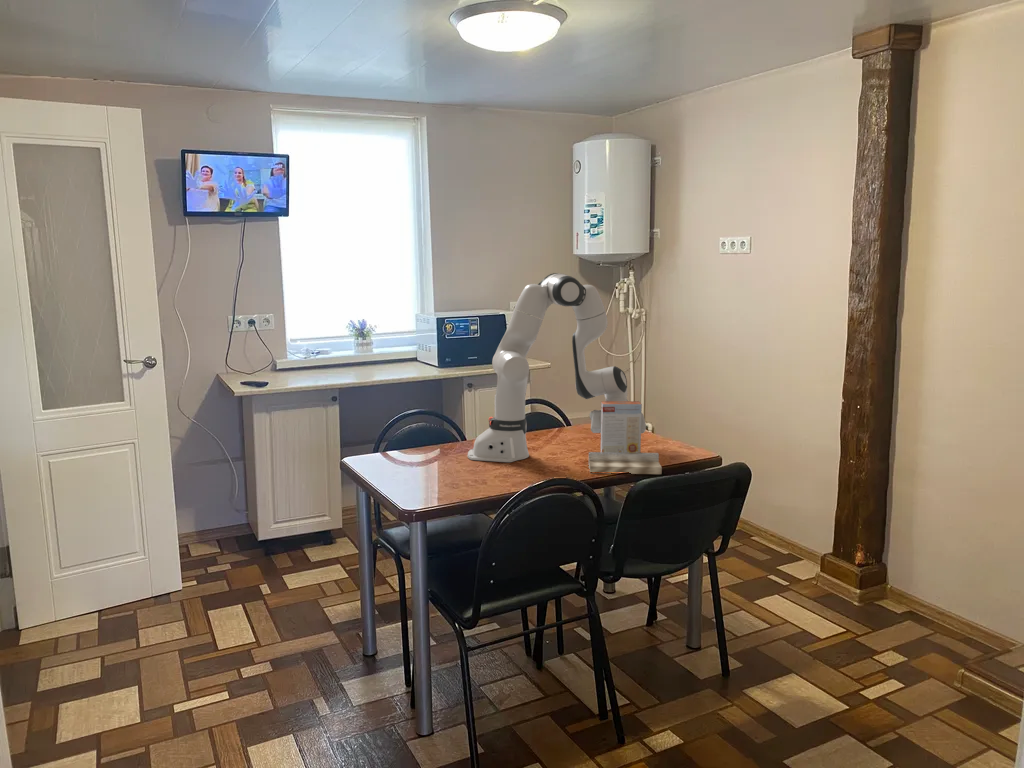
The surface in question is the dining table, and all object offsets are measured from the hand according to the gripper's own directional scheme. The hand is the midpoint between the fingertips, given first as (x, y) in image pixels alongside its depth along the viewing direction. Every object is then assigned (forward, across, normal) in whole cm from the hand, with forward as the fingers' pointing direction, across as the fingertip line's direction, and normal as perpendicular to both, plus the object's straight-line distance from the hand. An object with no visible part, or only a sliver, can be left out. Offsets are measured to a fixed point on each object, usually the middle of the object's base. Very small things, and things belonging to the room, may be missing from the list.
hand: (619, 442), depth 284 cm
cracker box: (+6, 0, +1) cm, 7 cm away
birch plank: (+17, 0, -10) cm, 20 cm away
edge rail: (+14, 0, -7) cm, 16 cm away
